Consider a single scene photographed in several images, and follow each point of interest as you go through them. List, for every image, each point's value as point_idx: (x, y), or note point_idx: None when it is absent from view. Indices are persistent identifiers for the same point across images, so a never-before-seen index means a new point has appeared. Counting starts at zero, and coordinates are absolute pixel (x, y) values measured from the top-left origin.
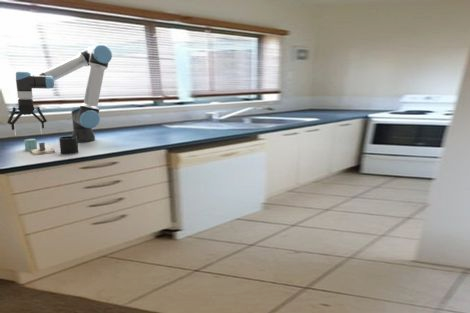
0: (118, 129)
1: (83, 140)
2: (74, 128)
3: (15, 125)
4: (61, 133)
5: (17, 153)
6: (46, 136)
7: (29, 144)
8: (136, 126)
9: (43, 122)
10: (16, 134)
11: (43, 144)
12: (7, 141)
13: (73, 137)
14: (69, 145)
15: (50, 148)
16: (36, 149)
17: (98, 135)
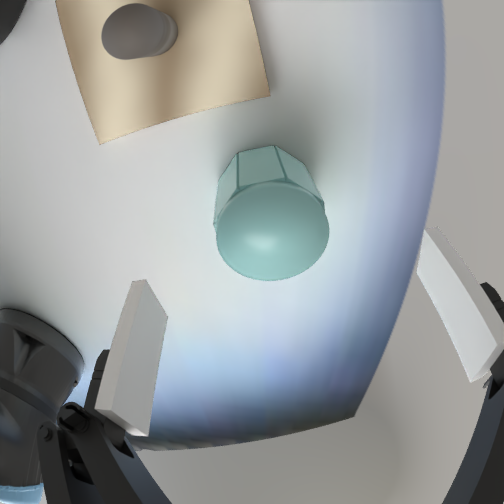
0: None
1: (8, 315)
2: (33, 397)
3: (493, 332)
4: (178, 443)
5: (368, 65)
6: (218, 430)
7: (279, 166)
8: None
9: (62, 412)
10: (432, 239)
11: (116, 15)
12: (355, 396)
13: None
14: None
15: (94, 100)
16: (212, 84)
17: None
